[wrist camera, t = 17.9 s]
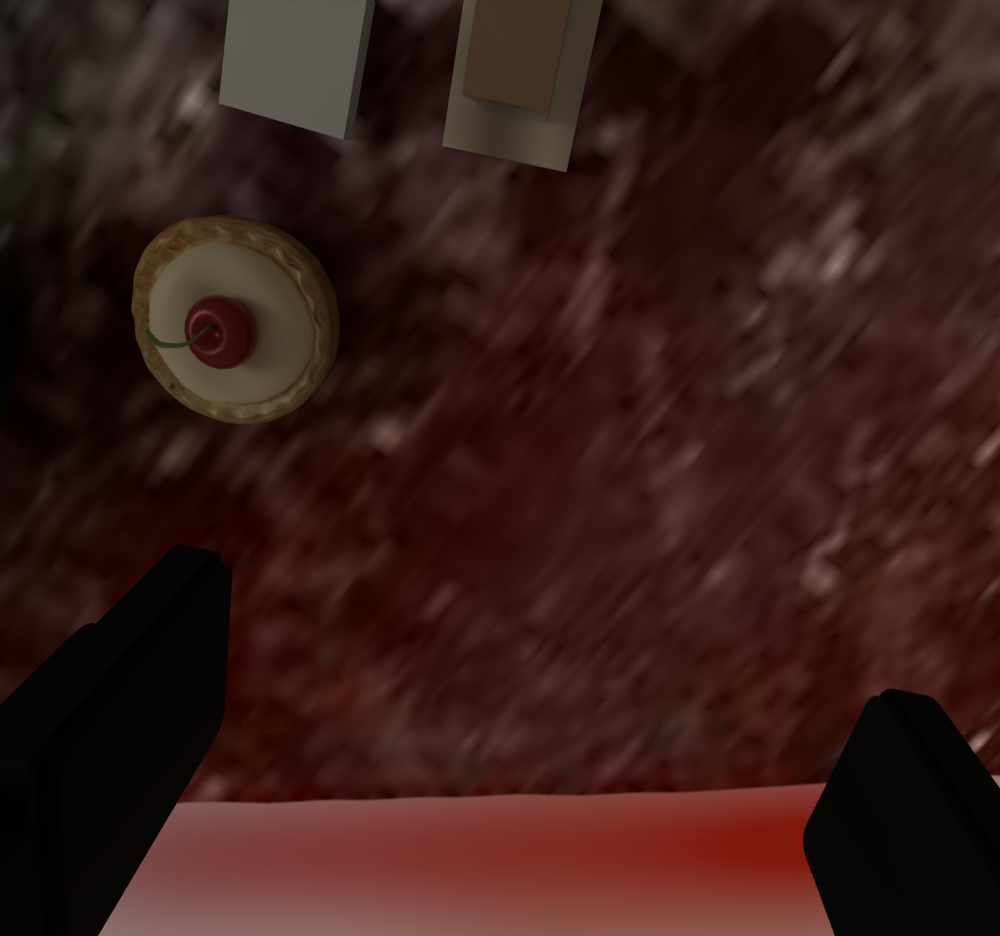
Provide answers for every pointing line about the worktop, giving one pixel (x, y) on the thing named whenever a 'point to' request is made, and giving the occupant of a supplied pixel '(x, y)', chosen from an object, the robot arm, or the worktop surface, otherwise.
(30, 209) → the worktop surface
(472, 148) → the board
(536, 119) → the brown rectangular block
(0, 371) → the bowl
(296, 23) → the tile
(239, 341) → the pastry
